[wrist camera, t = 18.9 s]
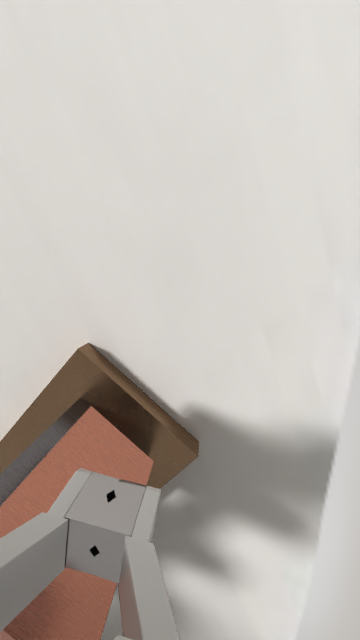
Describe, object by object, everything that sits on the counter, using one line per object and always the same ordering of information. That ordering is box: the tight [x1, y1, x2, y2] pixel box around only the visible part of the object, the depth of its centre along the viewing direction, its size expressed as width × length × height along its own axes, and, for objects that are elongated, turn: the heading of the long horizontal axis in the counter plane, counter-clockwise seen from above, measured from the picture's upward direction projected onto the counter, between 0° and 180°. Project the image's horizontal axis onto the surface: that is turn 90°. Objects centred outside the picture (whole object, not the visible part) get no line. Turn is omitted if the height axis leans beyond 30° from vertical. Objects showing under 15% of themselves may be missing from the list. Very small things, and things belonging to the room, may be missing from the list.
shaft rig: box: [0, 343, 199, 506], centre depth 15 cm, size 23×12×12 cm, turn 138°
